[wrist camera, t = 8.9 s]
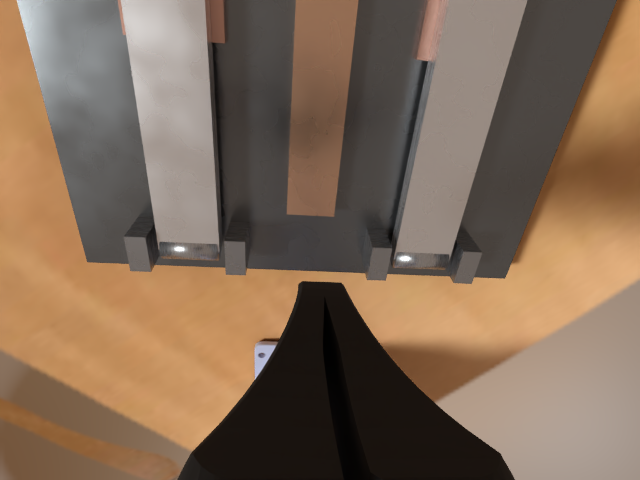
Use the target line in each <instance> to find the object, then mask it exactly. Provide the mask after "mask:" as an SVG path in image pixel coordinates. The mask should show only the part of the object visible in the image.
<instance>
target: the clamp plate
mask: <svg viewBox="0 0 640 480" xmlns="http://www.w3.org/2000/svg"><path fill="white" fill-rule="evenodd" d="M440 1H441V0H210V8H211V27H212V46H213V65H214V84H215V103H216V122H217V141H218V160H219V179H220V198H221V217H222V236H223V243H222V247H221V256H220V259H219V261H216V260H191V259H166V258H161V256H160V252H159V249H158V242H157V235H156V229H155V222H154V216H153V209H152V203H151V196H150V189H149V183H148V176H147V170H146V163H145V156H144V150H143V143H142V137H141V130H140V124H139V117H138V110H137V104H136V97H135V91H134V84H133V77H132V71H131V64H130V58H129V51H128V45H127V38H126V31H125V25H124V18H123V12H122V5H121V0H17V3H18V7H19V10H20V14H21V18H22V21H23V25H24V29H25V33H26V36H27V40H28V44H29V47H30V51H31V55H32V59H33V62H34V66H35V70H36V73H37V77H38V81H39V84H40V88H41V92H42V96H43V99H44V103H45V107H46V110H47V114H48V118H49V122H50V125H51V129H52V133H53V136H54V140H55V144H56V148H57V151H58V155H59V159H60V162H61V166H62V170H63V174H64V177H65V181H66V185H67V188H68V192H69V196H70V199H71V203H72V207H73V211H74V214H75V218H76V222H77V225H78V229H79V233H80V237H81V240H82V244H83V248H84V251H85V255H86V259H87V262H96V263H121V264H129V266H130V271H145V272H151V271H152V269H153V267H154V265H173V266H199V267H224V268H226V275H246V271H247V268H250V269H276V270H301V271H327V272H353V273H365V274H366V278H367V280H385V281H386V277H387V274H404V275H430V276H450V277H451V279H452V281H453V283H465V284H472V281H473V278H474V277H481V278H505V277H506V275H507V272H508V270H509V267H510V265H511V262H512V260H513V257H514V255H515V252H516V250H517V248H518V245H519V243H520V240H521V238H522V235H523V233H524V230H525V228H526V225H527V223H528V220H529V218H530V215H531V213H532V210H533V208H534V205H535V203H536V200H537V198H538V195H539V193H540V190H541V188H542V185H543V183H544V180H545V178H546V175H547V173H548V170H549V168H550V165H551V163H552V160H553V158H554V156H555V153H556V151H557V148H558V146H559V143H560V141H561V138H562V136H563V133H564V131H565V128H566V126H567V123H568V121H569V118H570V116H571V113H572V111H573V108H574V106H575V103H576V101H577V98H578V96H579V93H580V91H581V88H582V86H583V83H584V81H585V78H586V76H587V73H588V71H589V68H590V66H591V63H592V61H593V59H594V56H595V54H596V51H597V49H598V46H599V44H600V41H601V39H602V36H603V34H604V31H605V29H606V26H607V24H608V21H609V19H610V16H611V14H612V11H613V9H614V6H615V4H616V1H617V0H527V4H526V7H525V10H524V14H523V17H522V20H521V24H520V27H519V30H518V34H517V37H516V40H515V44H514V47H513V50H512V54H511V57H510V60H509V64H508V67H507V70H506V73H505V77H504V80H503V83H502V87H501V90H500V93H499V97H498V100H497V103H496V107H495V110H494V113H493V117H492V120H491V123H490V127H489V130H488V133H487V137H486V140H485V143H484V147H483V150H482V153H481V157H480V160H479V163H478V167H477V170H476V173H475V177H474V180H473V183H472V187H471V190H470V193H469V197H468V200H467V203H466V207H465V210H464V213H463V217H462V220H461V223H460V227H459V230H458V233H457V237H456V240H455V243H454V247H453V250H452V253H451V257H450V260H449V263H448V266H447V268H446V269H445V270H439V269H414V268H393V267H392V266H391V262H390V257H391V253H392V246H391V241H392V236H393V231H394V227H395V222H396V217H397V212H398V207H399V202H400V197H401V192H402V187H403V182H404V177H405V173H406V168H407V163H408V158H409V153H410V148H411V143H412V138H413V133H414V128H415V123H416V119H417V114H418V109H419V104H420V99H421V94H422V89H423V84H424V79H425V74H426V69H427V65H428V60H429V55H430V50H431V45H432V40H433V35H434V30H435V25H436V20H437V15H438V11H439V6H440Z"/></svg>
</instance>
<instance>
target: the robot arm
mask: <svg viewBox="0 0 640 480" xmlns="http://www.w3.org/2000/svg"><path fill="white" fill-rule="evenodd" d="M261 353H264V354H261ZM178 480H515V479H514V477H513V475H512V473H511V471H510V470H509V468H508V466H507V465H506V463H505V461H504V460H503V458H502V456H501V454H500V453H499V452H497V451H496V450H495V449H493V448H492V447H490V446H489V445H488V444H486V443H485V442H483V441H482V440H481V439H479V438H478V437H476V436H475V435H474V434H472V433H471V432H469V431H468V430H467V429H465V428H464V427H463V426H461V425H460V424H459V423H458V422H456V421H455V420H454V419H453V418H452V417H450V416H449V415H448V414H447V413H445V412H444V411H443V410H442V409H441V408H440V407H438V406H437V405H436V404H435V403H434V402H433V401H432V400H431V399H430V398H429V397H428V396H427V395H425V394H424V393H423V392H422V391H421V390H420V389H419V388H418V387H417V386H416V385H415V384H414V383H413V382H412V381H411V380H410V379H409V378H408V377H407V376H406V375H405V373H404V372H403V371H402V370H401V369H400V368H399V367H398V366H397V365H396V363H395V362H394V361H393V360H392V359H391V357H390V356H389V355H388V354H387V352H386V351H385V350H384V349H383V347H382V346H381V345H380V343H379V342H378V341H377V339H376V338H375V337H374V335H373V334H372V332H371V331H370V329H369V328H368V326H367V325H366V323H365V322H364V320H363V319H362V317H361V316H360V314H359V312H358V311H357V309H356V307H355V306H354V304H353V302H352V300H351V299H350V297H349V295H348V293H347V291H346V289H345V287H344V285H343V284H342V283H334V282H307V281H302V282H301V283H300V284H299V285H298V294H297V298H296V302H295V305H294V308H293V311H292V313H291V315H290V318H289V320H288V323H287V325H286V327H285V330H284V332H283V333H282V335H281V337H280V339H279V341H278V342H270V341H261V342H258V343H257V344H256V345H255V380H254V382H253V383H252V385H251V386H250V387H249V389H248V390H247V391H246V393H245V394H244V395H243V397H242V398H241V399H240V400H239V402H238V403H237V404H236V405H235V406H234V407H233V409H232V410H231V411H230V412H229V413H228V415H227V416H226V417H225V418H224V419H223V421H222V422H221V423H220V424H219V425H218V426H217V427H216V428H215V429H214V430H213V431H212V432H211V433H210V434H209V435H208V436H207V437H206V438H205V439H204V440H203V441H202V442H201V443H200V444H199V446H198V447H197V448H196V449H195V450H194V451H193V452H192V453H191V454H190V456H189V458H188V460H187V462H186V464H185V466H184V467H183V469H182V471H181V473H180V475H179V478H178Z"/></svg>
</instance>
